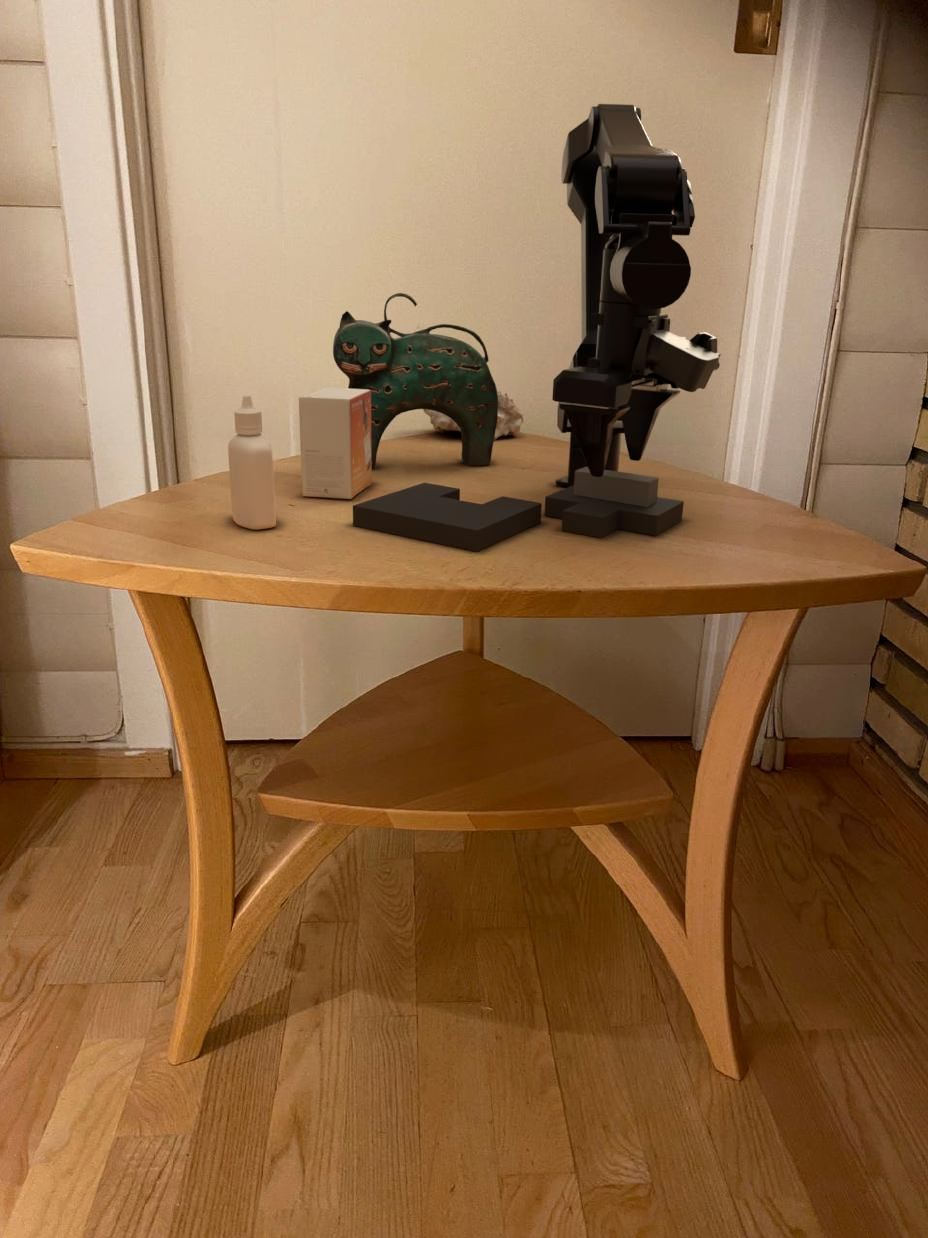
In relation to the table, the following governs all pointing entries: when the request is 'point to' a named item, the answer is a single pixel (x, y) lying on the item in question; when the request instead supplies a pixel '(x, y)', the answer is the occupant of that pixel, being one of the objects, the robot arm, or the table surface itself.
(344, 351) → the ceramic cat
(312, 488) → the small box
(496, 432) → the seashell
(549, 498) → the dark grey stepped block
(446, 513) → the charcoal pad
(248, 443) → the eye dropper bottle
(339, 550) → the table surface
